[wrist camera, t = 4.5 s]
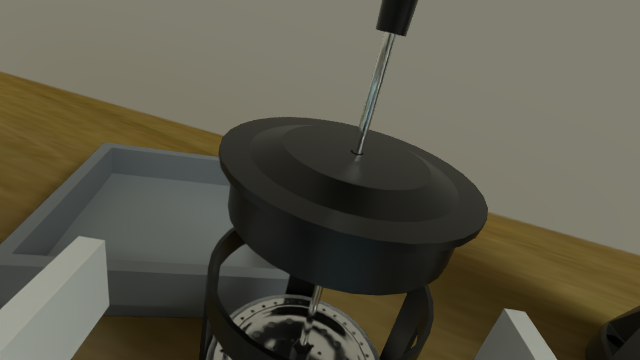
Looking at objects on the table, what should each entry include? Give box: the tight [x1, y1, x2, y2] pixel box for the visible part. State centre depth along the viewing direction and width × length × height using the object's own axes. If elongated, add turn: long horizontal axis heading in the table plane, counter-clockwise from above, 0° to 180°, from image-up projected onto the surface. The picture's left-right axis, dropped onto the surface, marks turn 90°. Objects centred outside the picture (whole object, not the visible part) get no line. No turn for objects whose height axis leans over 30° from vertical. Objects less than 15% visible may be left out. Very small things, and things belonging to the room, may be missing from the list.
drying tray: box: [0, 143, 289, 318], centre depth 32 cm, size 19×19×4 cm
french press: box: [199, 0, 488, 360], centre depth 14 cm, size 12×9×23 cm
